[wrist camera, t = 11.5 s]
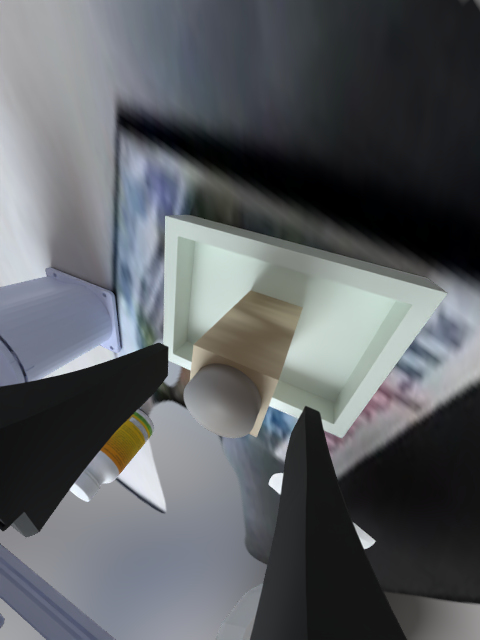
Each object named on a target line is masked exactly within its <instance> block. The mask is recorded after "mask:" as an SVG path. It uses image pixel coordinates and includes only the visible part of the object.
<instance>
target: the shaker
mask: <svg viewBox="0 0 480 640" xmlns="http://www.w3.org/2000/svg"><path fill="white" fill-rule="evenodd" d="M302 308H303V307H300V306H297V305H294V304H291V303H288V302H285V301H282V300H279V299H276V298H273V297H270V296H267V295H264V294H261V293H258V292H255V291H252V290H250V291H249V292H248V293H247V294H246V295H245V296H244V297H243V298H242V299H241V300H240V301H239V302H238V303H237V304H236V305H235V306H234V307H232V308H231V309H230V310H229V311H228V312H227V313H226V314H225V315H224V316H223V317H222V318H221V319H220V320H219V321H218V322H217V323H216V324H215V325H214V326H213V327H211V328H210V329H209V330H208V331H207V332H206V333H205V334H204V335H203V336H202V337H201V338H200V339H199V340H198V341H197V342H196V343H195V344H194V345H193V354H192V364H191V373H190V382H189V383H188V384H187V385H186V387H185V390H184V401H185V404H186V407H187V409H188V411H189V412H190V414H191V415H192V416H193V417H194V419H195V420H196V421H197V422H198V423H200V424H201V425H202V426H203V427H205V428H206V429H207V430H209V431H211V432H213V433H215V434H217V435H220V436H223V437H228V438H240V437H243V436H246V435H247V434H251V435H253V436H255V437H257V435H258V432H259V430H260V427H261V424H262V422H263V419H264V417H265V414H266V412H267V409H268V406H269V404H270V401H271V399H272V396H273V394H274V391H275V388H276V386H277V383H278V381H279V378H280V375H281V372H282V369H283V366H284V363H285V360H286V357H287V354H288V351H289V348H290V345H291V342H292V339H293V336H294V333H295V330H296V327H297V324H298V321H299V318H300V315H301V311H302Z"/></svg>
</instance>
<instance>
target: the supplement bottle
mask: <svg viewBox="0 0 480 640" xmlns="http://www.w3.org/2000/svg"><path fill="white" fill-rule="evenodd" d="M153 432H154V425H153V423H152V421H151V419H150V418H149V417H148V416H147V415H146V414H145V413H144V412H143V411H141V410H139V409H138V410H137V411H136V412H135V413H134V414H133V415H132V416H131V417H130V418H129V419H128V420H127V421H126V422H125V423H124V424H123V425H122V426H121V427H120V428H119V429H118V430H117V431H116V432H115V433H114V434H113V436H112V437H111V438H110V439H109V440H108V441H107V443H106V444H105V445H104V446H103V447H102V449H101V450H100V451H99V452H98V454H97V455H96V456H95V457H94V459H93V460H92V461H91V462H90V464H89V465H88V466H87V467H86V469H85V470H84V471H83V472H82V474H81V475H80V476H79V478H78V479H77V480H76V482H75V483H74V484H73V486H72V487H71V488H70V491H71V492H72V493H74V494H75V495H76V496H77V497H79V498H80V499H82V500H84V501H86V502H88V501H90V500H91V499H92V498H93V496H94V495H95V494H96V493H97V492H98V490H99V489H100V485H101V484H102V483H110V482H112V481H114V480H115V479H116V478H117V477H118V475H119V474H120V473H121V472H122V471H123V469H124V468H125V467H126V466H127V464H128V463H129V462H130V461H131V460H132V458H133V457H134V456H135V455H136V453H137V452H138V451H139V450H140V449H141V447H142V446H143V445H144V444H145V442H146V441H147V440H148V439H149V438H150V436H151V435H152V434H153Z"/></svg>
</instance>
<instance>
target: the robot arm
mask: <svg viewBox="0 0 480 640" xmlns="http://www.w3.org/2000/svg"><path fill="white" fill-rule="evenodd" d="M45 271H46V275H47V277H42V278H38V279H34V280H29V281H25V282H21V283H17V284H12V285H8V286H4V287H0V529H1V530H2V531H4V530H6V529H7V528H8V527H9V526H10V525H11V526H12V527H13V528H15V529H16V530H17V531H18V532H20V533H21V534H22V535H24V536H25V537H29V536H32V535H35V534H36V533H38V532H40V530H41V529H42V527H43V526H44V524H45V523H46V521H47V520H48V519H49V517H50V516H51V514H52V513H53V512H54V510H55V509H56V507H57V506H58V505H59V503H60V502H61V500H62V499H63V498H64V496H65V495H66V493H67V492H68V491H69V490H70V488H71V487H72V486H73V484H74V483H75V482H76V480H77V479H78V478H79V476H80V475H81V474H82V472H83V471H84V470H85V469H86V467H87V466H88V465H89V464H90V462H91V461H92V460H93V459H94V457H95V456H96V455H97V454H98V452H99V451H100V450H101V449H102V447H103V446H104V445H105V444H106V443H107V441H108V440H109V439H110V438H111V437H112V436H113V434H114V433H115V432H116V431H117V430H118V429H119V428H120V427H121V426H122V425H123V424H124V423H125V422H126V421H127V420H128V419H129V418H130V417H131V416H132V415H133V414H134V413H135V412H136V411H137V410H138V409H139V408H140V407H141V406H142V405H143V404H144V403H145V402H146V401H147V400H148V399H149V398H150V397H151V396H152V394H153V393H154V392H155V391H156V390H157V389H158V388H159V386H160V385H161V384H162V382H163V381H164V380H165V378H166V377H167V376H168V350H169V347H168V346H165V345H163V344H161V343H156V344H154V345H151V346H148V347H145V348H143V349H140V350H138V351H135V352H132V353H130V354H127V355H124V356H121V357H119V358H116V359H113V360H110V361H107V362H104V363H101V364H98V365H95V366H92V367H89V368H85V369H82V370H78V371H75V372H71V373H67V374H63V375H59V376H54V377H49V378H45V379H41V378H43V377H45V376H46V375H48V374H50V373H52V372H53V371H55V370H57V369H59V368H60V367H62V366H64V365H65V364H67V363H69V362H71V361H72V360H74V359H76V358H78V357H79V356H81V355H83V354H85V353H86V352H88V351H90V350H92V349H93V348H95V347H97V346H99V345H100V346H102V347H104V348H107V349H109V350H111V351H113V352H115V353H118V352H120V350H121V348H120V339H119V330H118V321H117V312H116V303H115V295H114V293H113V292H111V291H109V290H107V289H104V288H101V287H99V286H96V285H94V284H91V283H89V282H86V281H84V280H81V279H79V278H76V277H73V276H71V275H68V274H66V273H63V272H61V271H58V270H56V269H53V268H50V267H49V268H46V270H45ZM39 379H40V380H39ZM0 598H1V599H3V600H4V601H5V602H6V603H7V604H8V605H9V606H10V607H11V608H12V609H14V610H15V611H16V612H17V613H18V614H19V615H20V616H21V617H22V618H23V619H24V620H26V621H27V622H28V623H29V624H30V625H31V626H32V627H33V628H35V630H37V631H38V632H39V633H40V634H41V635H42V636H43V637H44V638H46V640H116V639H114V638H113V637H112V636H111V635H109V634H108V633H107V632H106V631H105V630H103V629H102V628H101V627H100V626H98V625H97V624H96V623H95V622H94V621H93V620H91V619H90V618H89V617H88V616H87V615H85V614H84V613H83V612H82V611H81V610H79V609H78V608H77V607H76V606H75V605H73V604H72V603H71V602H70V601H69V600H67V599H66V598H65V597H64V596H63V595H61V594H60V593H59V592H58V591H57V590H55V589H54V588H53V587H52V586H51V585H49V584H48V583H47V582H45V580H43V579H42V578H41V577H40V576H38V575H37V574H36V573H35V572H34V571H33V570H31V569H30V568H29V567H28V566H27V565H25V564H24V563H23V562H22V561H20V560H19V559H18V558H17V557H16V556H14V555H13V554H12V553H11V552H10V551H8V550H7V549H6V548H5V547H4V546H2V545H1V544H0ZM4 620H5V619H4V618H3V616H2V615H1V614H0V628H1V627H2V625H3V624H4ZM250 640H407V639H406V637H405V635H404V633H403V631H402V629H401V627H400V625H399V623H398V621H397V619H396V617H395V615H394V613H393V611H392V609H391V607H390V605H389V602H388V600H387V598H386V596H385V594H384V592H383V590H382V587H381V585H380V583H379V581H378V579H377V577H376V575H375V572H374V570H373V568H372V566H371V564H370V562H369V560H368V557H367V555H366V553H365V550H364V548H363V546H362V543H361V541H360V539H359V536H358V534H357V532H356V529H355V526H354V524H353V521H352V519H351V516H350V514H349V511H348V509H347V506H346V503H345V500H344V498H343V495H342V492H341V489H340V486H339V483H338V480H337V477H336V474H335V470H334V467H333V464H332V460H331V457H330V453H329V450H328V446H327V442H326V438H325V433H324V429H323V424H322V419H321V414H320V412H319V411H317V410H315V409H312V408H310V407H308V406H305V407H304V409H303V411H302V413H301V415H300V417H299V419H298V421H297V423H296V425H295V427H294V429H293V431H292V433H291V437H290V441H289V445H288V449H287V453H286V458H285V466H284V473H283V480H282V488H281V495H280V503H279V510H278V517H277V523H276V528H275V533H274V537H273V542H272V547H271V551H270V556H269V560H268V565H267V569H266V574H265V578H264V583H263V587H262V591H261V595H260V599H259V604H258V608H257V612H256V616H255V620H254V625H253V629H252V633H251V637H250Z"/></svg>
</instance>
